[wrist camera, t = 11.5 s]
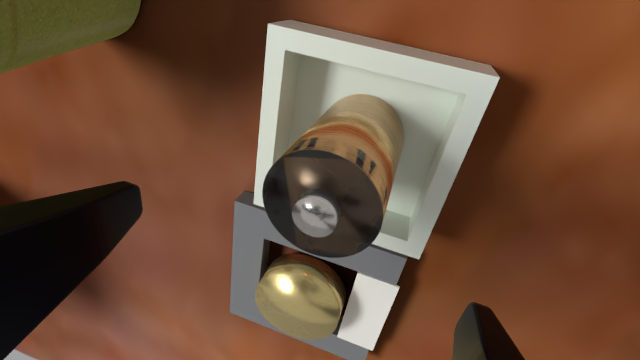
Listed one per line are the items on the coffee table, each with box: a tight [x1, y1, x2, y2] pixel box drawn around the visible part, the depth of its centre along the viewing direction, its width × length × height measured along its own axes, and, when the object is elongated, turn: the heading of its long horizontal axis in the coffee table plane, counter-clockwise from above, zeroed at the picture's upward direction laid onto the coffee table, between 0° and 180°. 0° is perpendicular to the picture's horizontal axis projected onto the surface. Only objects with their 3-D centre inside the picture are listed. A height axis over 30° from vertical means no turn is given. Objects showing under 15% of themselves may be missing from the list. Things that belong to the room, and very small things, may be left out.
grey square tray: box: [230, 191, 407, 360], centre depth 21 cm, size 10×10×1 cm
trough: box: [253, 20, 500, 259], centre depth 15 cm, size 9×9×2 cm
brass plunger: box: [255, 254, 346, 340], centre depth 21 cm, size 5×5×2 cm
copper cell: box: [262, 94, 404, 258], centre depth 13 cm, size 4×4×7 cm
